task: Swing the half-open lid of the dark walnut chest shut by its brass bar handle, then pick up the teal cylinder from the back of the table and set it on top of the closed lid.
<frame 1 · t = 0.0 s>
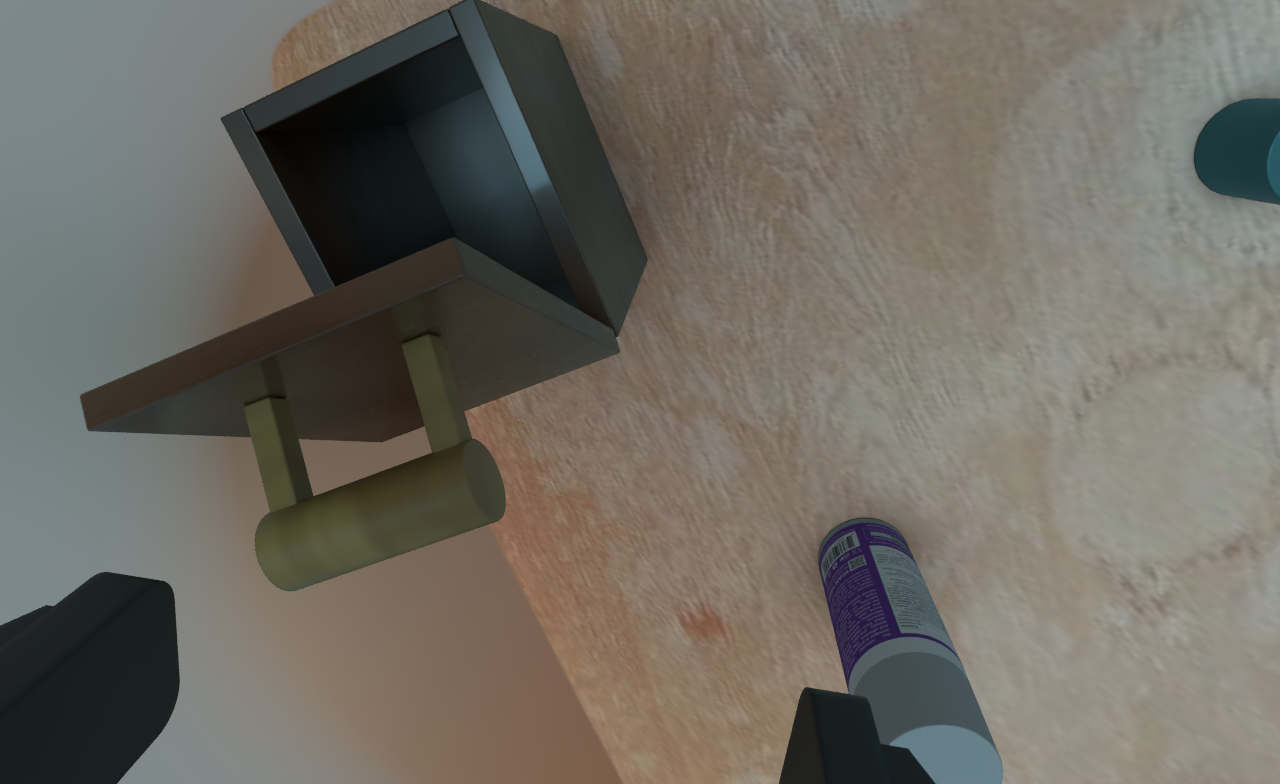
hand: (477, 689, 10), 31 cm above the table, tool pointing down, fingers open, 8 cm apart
teal cylinder: (1243, 148, 36), on the table
container: (862, 555, 44), on the table
chest: (519, 187, 39), on the table
lid: (429, 447, 21), point 20 cm above the table, hinge at 65.0°
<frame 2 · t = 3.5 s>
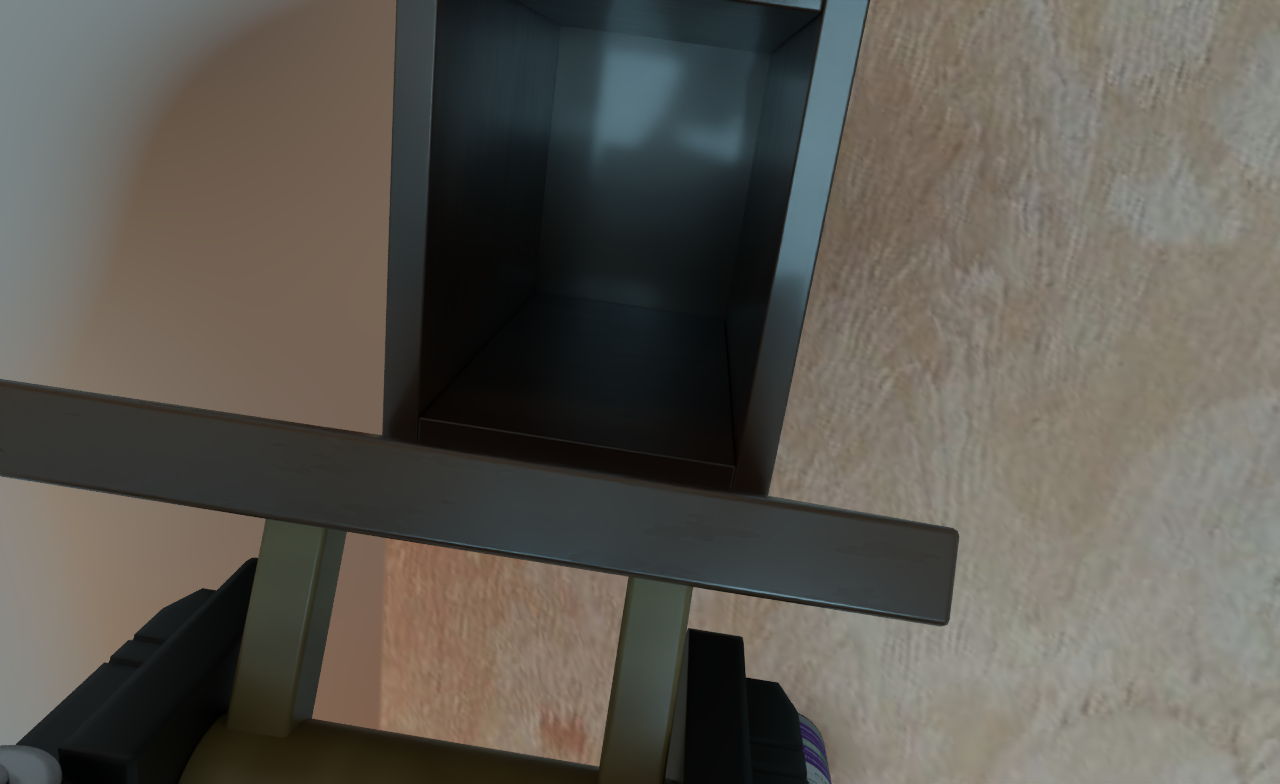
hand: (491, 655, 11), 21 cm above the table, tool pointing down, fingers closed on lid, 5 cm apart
container: (771, 746, 37), on the table
chest: (648, 177, 30), on the table
lid: (508, 630, 12), point 20 cm above the table, hinge at 65.0°, touching gripper
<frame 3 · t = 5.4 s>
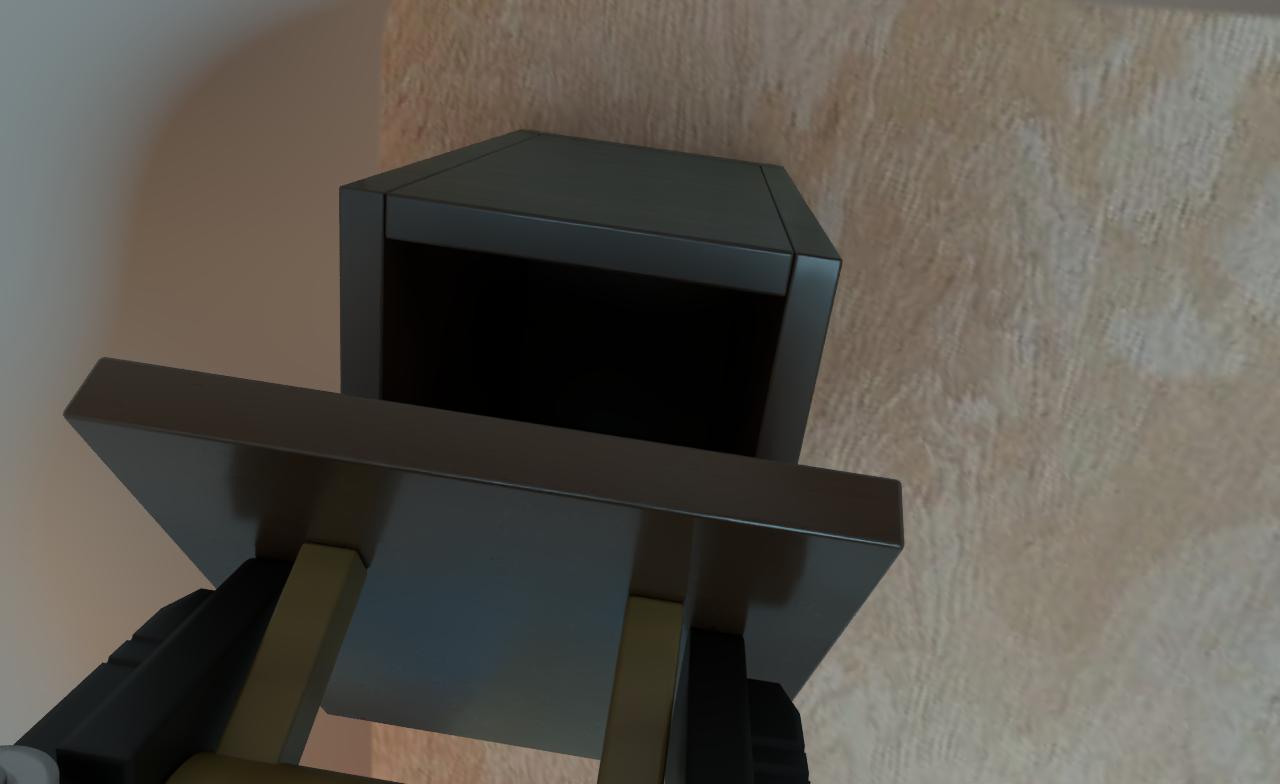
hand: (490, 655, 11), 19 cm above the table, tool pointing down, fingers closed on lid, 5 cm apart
chest: (630, 305, 29), on the table
lid: (482, 780, 12), point 19 cm above the table, hinge at 32.0°, touching gripper
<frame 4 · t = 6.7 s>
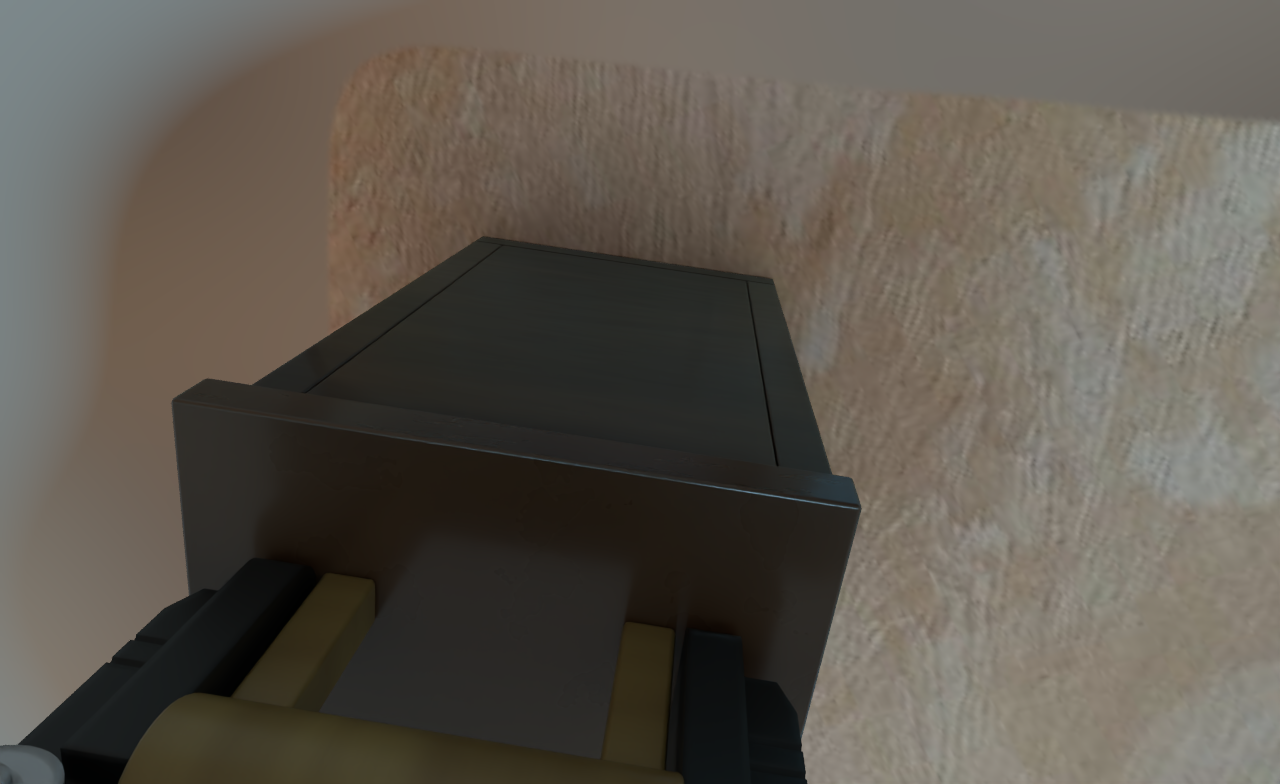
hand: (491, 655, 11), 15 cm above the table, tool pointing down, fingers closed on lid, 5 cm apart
chest: (606, 423, 26), on the table
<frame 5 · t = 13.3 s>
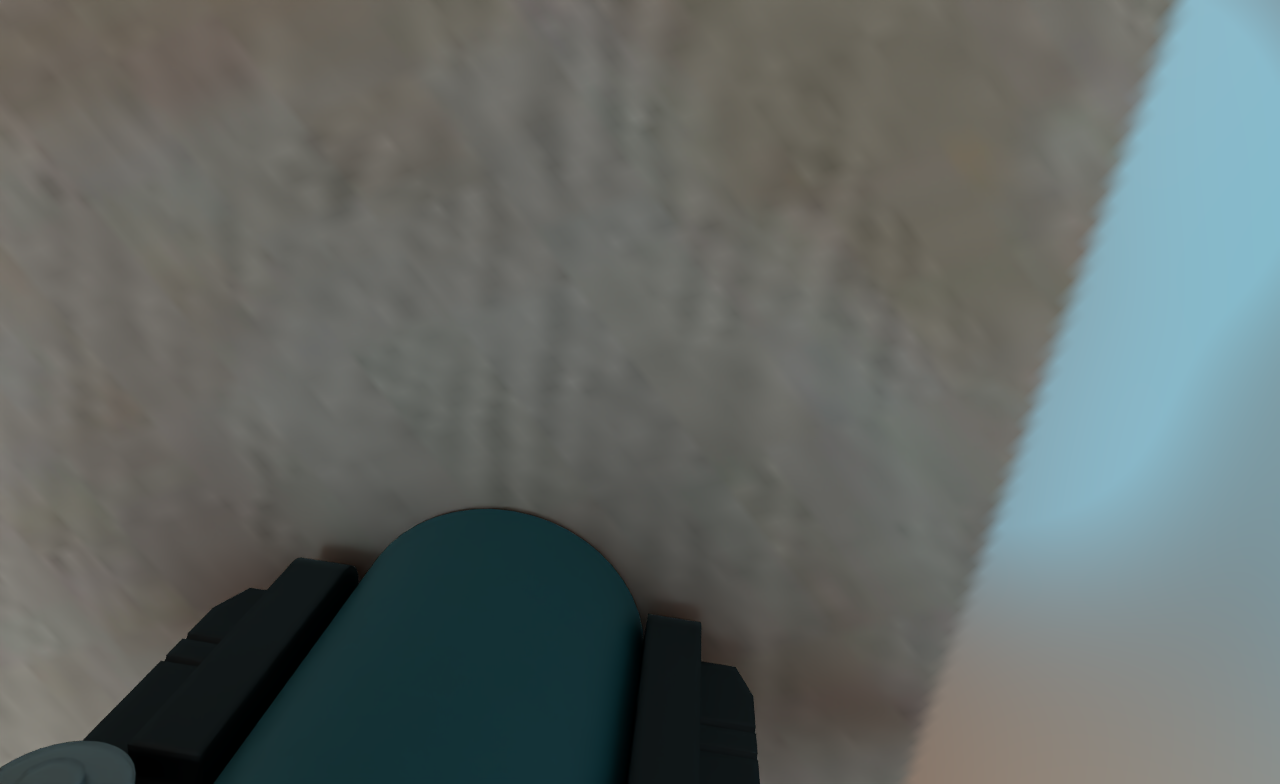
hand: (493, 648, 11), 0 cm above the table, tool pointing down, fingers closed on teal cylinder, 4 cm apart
teal cylinder: (500, 636, 12), on the table, touching gripper
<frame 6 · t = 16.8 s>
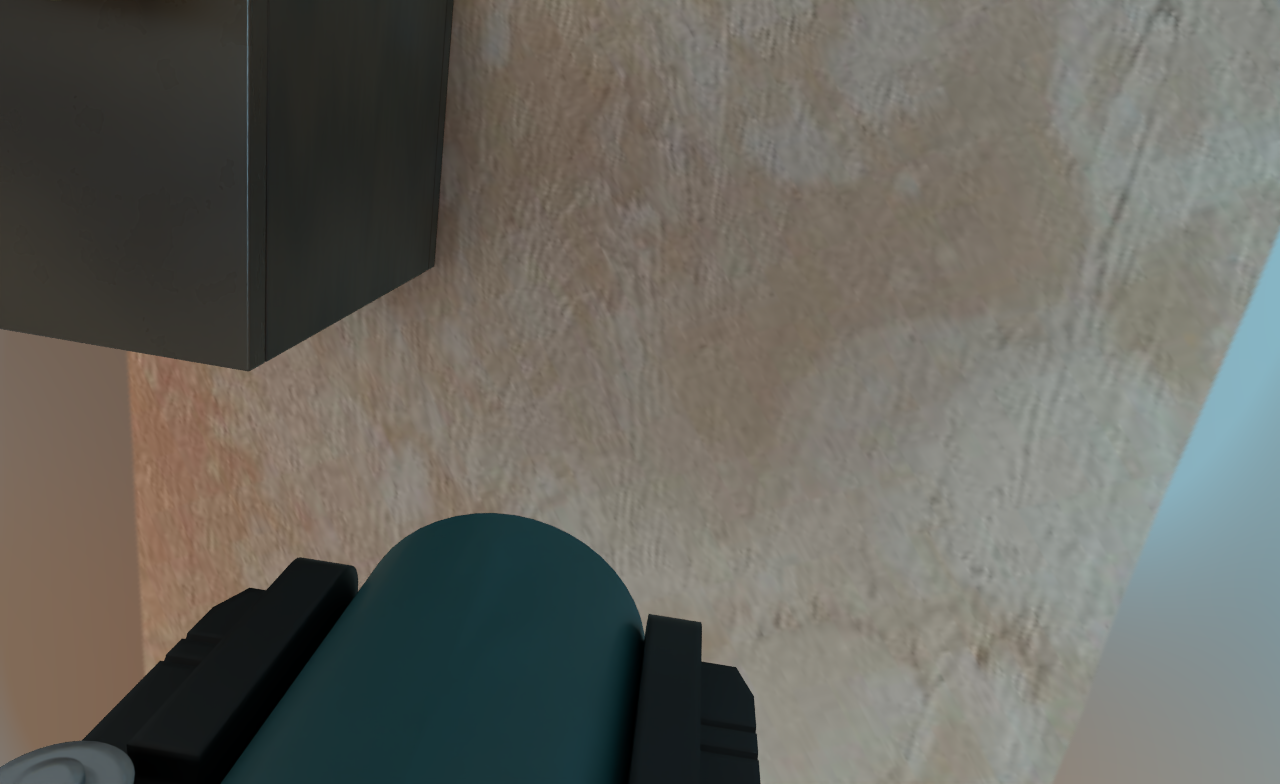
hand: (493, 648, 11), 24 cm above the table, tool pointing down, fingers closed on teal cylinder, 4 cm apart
teal cylinder: (502, 640, 12), point 24 cm above the table, touching gripper
chest: (336, 115, 33), on the table
lid: (1, 106, 17), point 16 cm above the table, hinge at -0.3°, touching chest
when the fingers open (15 cm above the table, at t = 20.4 s): teal cylinder stays where it is, resting on lid.
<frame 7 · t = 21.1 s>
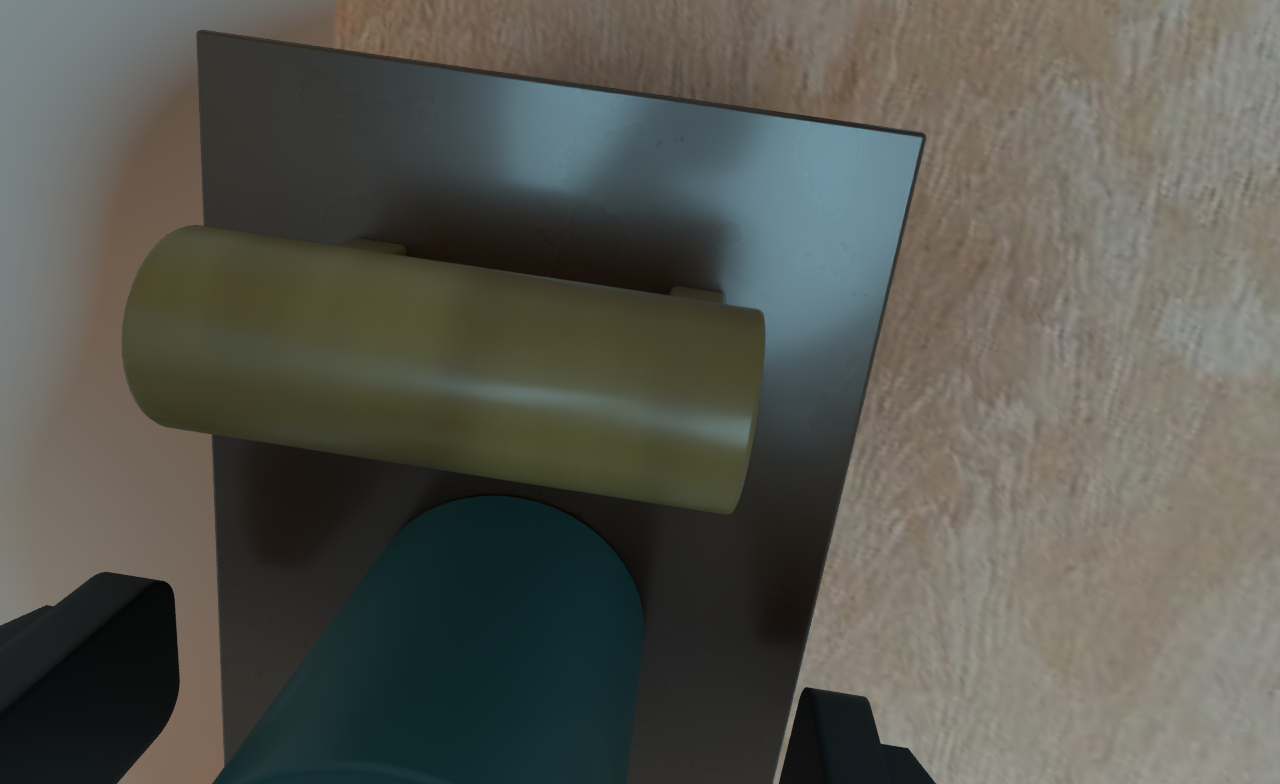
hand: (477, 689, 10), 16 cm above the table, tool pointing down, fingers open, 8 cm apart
teal cylinder: (506, 619, 12), point 15 cm above the table, touching lid
lid: (484, 573, 10), point 16 cm above the table, hinge at -0.3°, touching chest, teal cylinder
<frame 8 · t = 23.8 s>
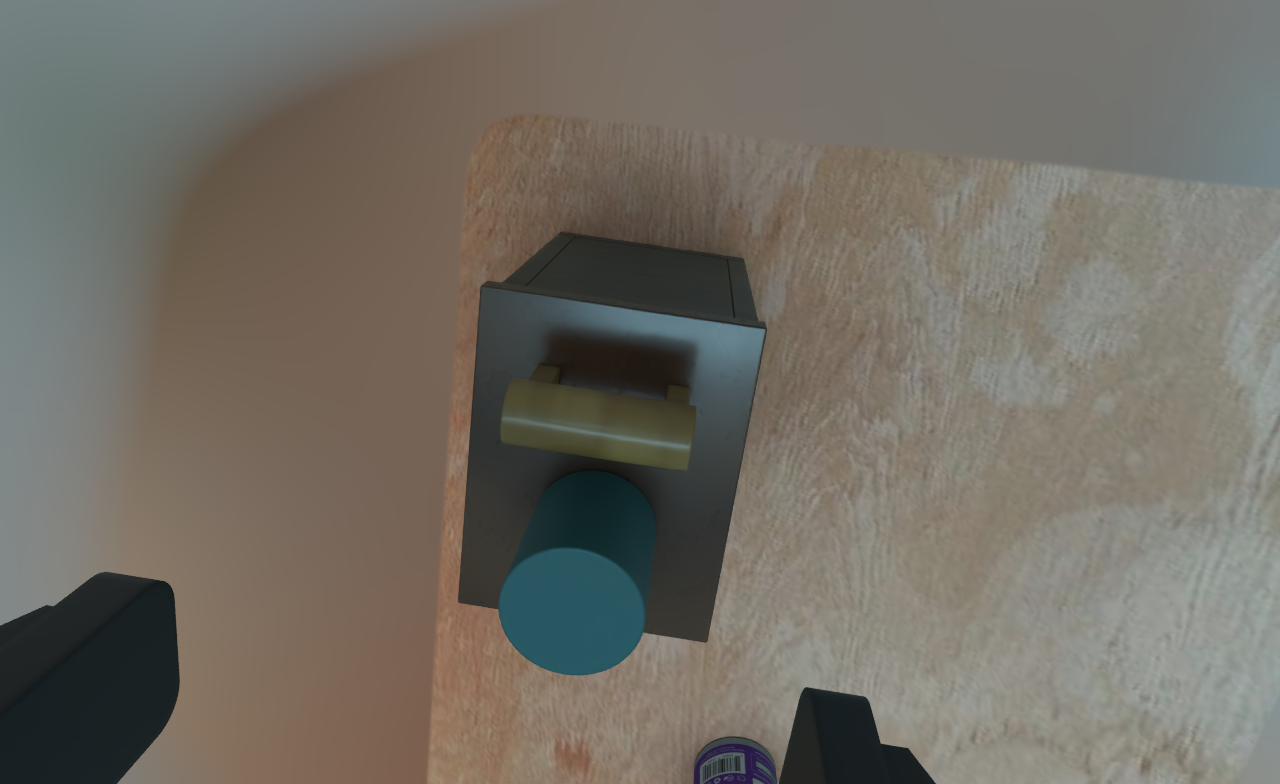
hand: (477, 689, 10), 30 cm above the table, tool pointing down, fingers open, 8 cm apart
teal cylinder: (594, 525, 27), point 15 cm above the table, touching lid
container: (734, 767, 48), on the table
chest: (637, 353, 40), on the table
lid: (594, 499, 25), point 16 cm above the table, hinge at -0.3°, touching chest, teal cylinder
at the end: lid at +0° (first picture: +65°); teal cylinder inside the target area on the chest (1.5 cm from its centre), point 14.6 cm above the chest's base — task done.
